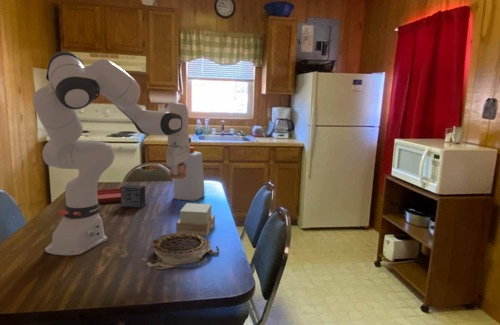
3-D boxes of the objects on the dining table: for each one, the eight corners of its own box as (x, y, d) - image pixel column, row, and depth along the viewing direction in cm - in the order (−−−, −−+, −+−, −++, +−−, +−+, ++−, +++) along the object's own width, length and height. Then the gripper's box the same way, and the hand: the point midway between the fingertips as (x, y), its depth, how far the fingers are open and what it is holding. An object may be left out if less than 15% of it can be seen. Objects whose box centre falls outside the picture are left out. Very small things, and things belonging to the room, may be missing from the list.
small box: (146, 204, 186) (145, 185, 184) (141, 208, 180) (140, 188, 178) (126, 203, 187) (125, 184, 185) (120, 207, 181) (119, 187, 179)
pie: (131, 270, 120) (131, 256, 119) (151, 238, 147) (151, 226, 146) (216, 271, 121) (217, 257, 120) (220, 239, 148) (220, 227, 147)
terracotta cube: (182, 178, 155) (182, 166, 154) (170, 178, 155) (169, 165, 154) (186, 175, 160) (186, 163, 159) (174, 175, 161) (174, 162, 160)
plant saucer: (92, 195, 201) (92, 189, 200) (126, 193, 208) (126, 187, 207) (92, 205, 184) (92, 199, 184) (129, 202, 191) (129, 195, 191)
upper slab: (206, 224, 149) (206, 212, 148) (180, 222, 150) (180, 211, 149) (211, 215, 160) (211, 204, 159) (186, 213, 161) (186, 203, 160)
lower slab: (206, 237, 148) (206, 225, 147) (176, 234, 150) (176, 223, 149) (214, 225, 161) (214, 215, 160) (186, 223, 163) (186, 212, 162)
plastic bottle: (182, 192, 211) (182, 144, 206) (206, 194, 207) (207, 146, 202) (170, 199, 197) (169, 148, 191) (196, 202, 193) (196, 150, 187)
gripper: (177, 144, 144) (177, 178, 147) (192, 138, 164) (192, 168, 167) (161, 144, 145) (162, 177, 148) (178, 137, 165) (179, 167, 168)
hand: (178, 172), depth 157 cm, fingers closed on terracotta cube, 5 cm apart
